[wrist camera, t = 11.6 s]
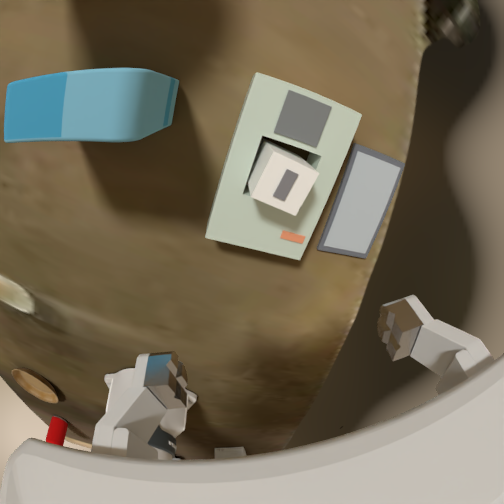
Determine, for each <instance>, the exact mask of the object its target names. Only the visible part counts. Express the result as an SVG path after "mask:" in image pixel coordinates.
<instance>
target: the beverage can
mask: <svg viewBox="0 0 504 504" xmlns="http://www.w3.org/2000/svg"><path fill="white" fill-rule="evenodd" d="M67 427H68V423H67V422H66V420H65V419H63V418H61V417H59V416H53V417H52V419H51V422H50V426H49V429H48V433H47V437H46V442H48V443H52V444H56V445H60V446H63V443H64V439H65V435H66V431H67Z"/></svg>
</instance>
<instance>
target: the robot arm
mask: <svg viewBox="0 0 504 504" xmlns="http://www.w3.org/2000/svg"><path fill="white" fill-rule="evenodd" d="M380 314H381V317H380V318H379V319H378V323H377V329H378V334H379V336H380V338H381V340H382V341H383V342H384V343H386V344H387V351H388V353H389V355H390V357H391V359H392V360H393V361H395V360H398V359H401V358H403V357H406V356H409V355H410V356H411V357H413V358H414V359H416V360H417V361H419V362H420V363H422V364H423V365H425V366H426V367H427V368H429V369H430V370H432V371H433V372H435V373H436V374H438V375H439V376H441V377H442V378H441V379H440V381H439V382H438V384H437V386H436V391H437V392H438V394H439V395H438V396H436V397H435V398H433V399H431V400H429V401H427V402H425V403H423V404H421V405H419V406H417V407H414V408H412V409H410V410H408V411H406V412H404V413H401V414H399V415H397V416H394V417H392V418H390V419H387V420H384V421H382V422H379V423H377V424H374V425H371V426H369V427H366V428H363V429H361V430H357V431H354V432H352V433H348V434H345V435H342V436H338V437H335V438H332V439H328V440H324V441H321V442H317V443H313V444H309V445H305V446H300V447H295V448H291V449H286V450H280V451H275V452H269V453H263V454H256V455H248V456H240V457H230V458H218V459H199V460H172V458H174V457H175V452H176V439H175V438H176V437H177V435H179V434H181V433H182V431H184V430H185V424H186V414H187V410H188V409H189V408H190V407H191V406H192V405H193V404H194V403H195V402H196V400H197V395H196V394H194V393H192V392H190V391H188V390H187V389H185V387H186V386H187V384H188V377H187V371H186V369H185V366H184V364H183V363H182V362H180V361H178V355H177V353H176V352H175V351H170V352H159V353H148V354H139V356H138V357H137V361H136V366H135V368H129V369H124V370H121V371H119V372H118V373H115V374H107V375H105V379H104V380H105V382H106V384H107V386H108V388H109V389H110V391H109V396H108V401H107V407H106V414H105V415H104V416H103V417H102V418H101V420H100V421H99V422H98V423H97V424H96V427H95V432H94V438H93V443H92V449H91V452H88V451H82V450H77V449H73V448H68V447H64V446H60V445H56V444H52V443H48V442H45V441H42V440H38V439H35V438H29V439H27V440H26V441H24V442H23V443H22V444H21V445H20V446H19V447H18V448H17V449H16V450H15V451H14V452H13V453H12V454H11V456H10V457H9V459H8V461H7V464H6V468H5V471H4V476H3V480H2V485H1V490H0V504H504V354H502V355H501V356H500V357H498V358H497V359H496V360H494V358H493V357H492V356H491V354H490V353H489V351H488V350H487V348H486V347H485V345H484V344H483V343H482V341H481V340H480V339H479V338H477V337H474V336H472V335H470V334H468V333H466V332H464V331H461V330H459V329H457V328H455V327H452V326H450V325H448V324H446V323H444V322H442V321H440V320H434V319H433V318H432V317H431V316H430V314H429V313H428V311H427V310H426V309H425V308H424V306H423V305H422V304H421V302H420V301H419V300H418V299H417V297H416V296H414V295H411V296H408V297H405V298H403V299H399V300H396V301H393V302H390V303H387V304H384V305H382V306H381V308H380Z"/></svg>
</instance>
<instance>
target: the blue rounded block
mask: <svg viewBox="0 0 504 504" xmlns="http://www.w3.org/2000/svg"><path fill="white" fill-rule="evenodd" d="M178 86H179V80H177V79H175V78H172V77H169V76H166V75H164V74H161V73H158V72H155V71H152V70H148V69H141V68H103V69H88V70H78V71H69V72H61V73H55V74H48V75H43V76H37V77H32V78H27V79H23V80H18V81H14V82H11V83H9V84H8V86H7V94H6V105H5V121H4V141H5V142H6V143H16V142H37V141H95V142H131V141H137V140H140V139H142V138H144V137H146V136H149V135H151V134H153V133H155V132H157V131H159V130H161V129H163V128H166V127H168V126H170V125H171V124H172V119H173V113H174V107H175V101H176V96H177V91H178Z"/></svg>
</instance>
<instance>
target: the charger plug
mask: <svg viewBox="0 0 504 504" xmlns="http://www.w3.org/2000/svg"><path fill="white" fill-rule="evenodd" d="M318 175H319V173H318V172H317V171H316V170H315V169H314V168H313V167H312V166H311V165H309V164H308V163H307V162H306V161H305V160H304V159H303V158H302V157H300V156H299V155H297V154H295V153H293V152H291V151H289V150H287V149H285V148H283V147H281V146H279V145H277V144H275V143H272V142H270V141H268V140H266V139H264V138H263V140H262V142H261V144H260V146H259V148H258V150H257V153H256V156H255V159H254V161H253V164H252V167H251V170H250V173H249V176H248V179H247V181H248V186H249V191H250V196H251V197H252V198H254V199H257V200H259V201H261V202H264V203H266V204H269V205H271V206H273V207H276V208H278V209H281V210H283V211H285V212H288V213H290V214H292V215H294V216H296V214H297V213H298V211H299V209H300V207H301V206H302V204H303V202H304V200H305V198H306V197H307V195H308V193H309V191H310V190H311V188H312V186H313V184H314V182H315V181H316V179H317V177H318Z"/></svg>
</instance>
